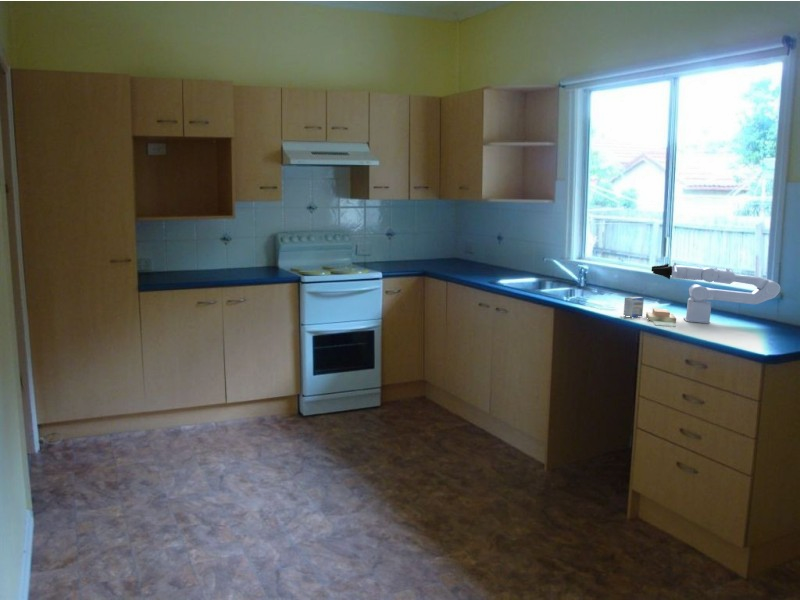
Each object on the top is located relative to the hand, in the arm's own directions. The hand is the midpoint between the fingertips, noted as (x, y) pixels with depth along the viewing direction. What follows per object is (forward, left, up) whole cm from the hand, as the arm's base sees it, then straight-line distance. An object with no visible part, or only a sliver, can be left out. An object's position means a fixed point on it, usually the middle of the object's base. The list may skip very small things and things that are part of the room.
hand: (652, 269), depth 318 cm
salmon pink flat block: (-5, +3, -19) cm, 20 cm away
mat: (-5, +14, -21) cm, 26 cm away
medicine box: (+7, 0, -21) cm, 22 cm away
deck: (-5, +4, -21) cm, 22 cm away
